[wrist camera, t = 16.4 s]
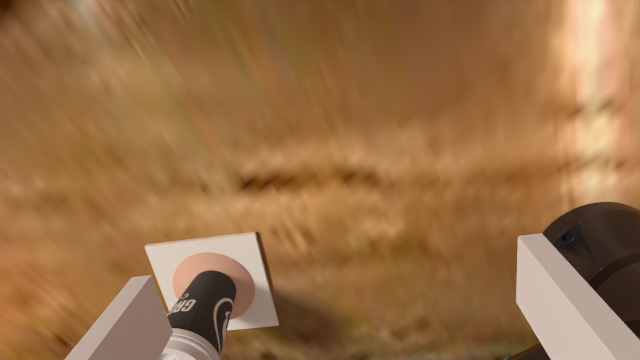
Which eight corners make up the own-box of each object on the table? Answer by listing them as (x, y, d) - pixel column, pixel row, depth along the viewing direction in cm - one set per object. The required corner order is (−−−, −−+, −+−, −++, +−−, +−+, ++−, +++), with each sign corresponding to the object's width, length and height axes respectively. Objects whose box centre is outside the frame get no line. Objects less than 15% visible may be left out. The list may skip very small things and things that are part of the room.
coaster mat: (255, 231, 54) (254, 234, 53) (279, 322, 60) (278, 326, 59) (146, 244, 55) (143, 247, 55) (179, 331, 61) (177, 335, 61)
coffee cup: (226, 252, 54) (186, 332, 40) (258, 303, 57) (231, 394, 44) (169, 273, 56) (112, 357, 42) (203, 322, 59) (160, 414, 45)
